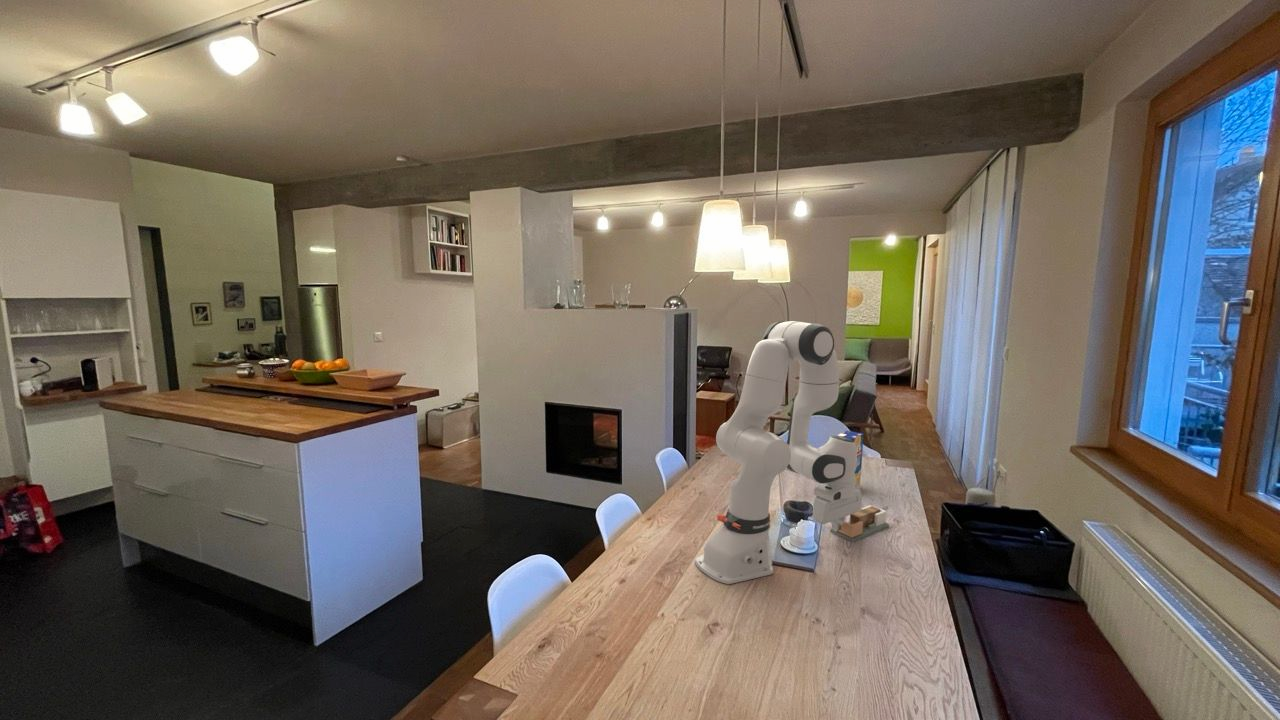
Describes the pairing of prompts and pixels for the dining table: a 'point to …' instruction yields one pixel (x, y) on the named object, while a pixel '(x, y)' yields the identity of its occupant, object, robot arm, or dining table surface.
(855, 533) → the cap
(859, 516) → the brown rectangular block
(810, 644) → the dining table surface
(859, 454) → the beverage box
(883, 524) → the grey slotted holder
